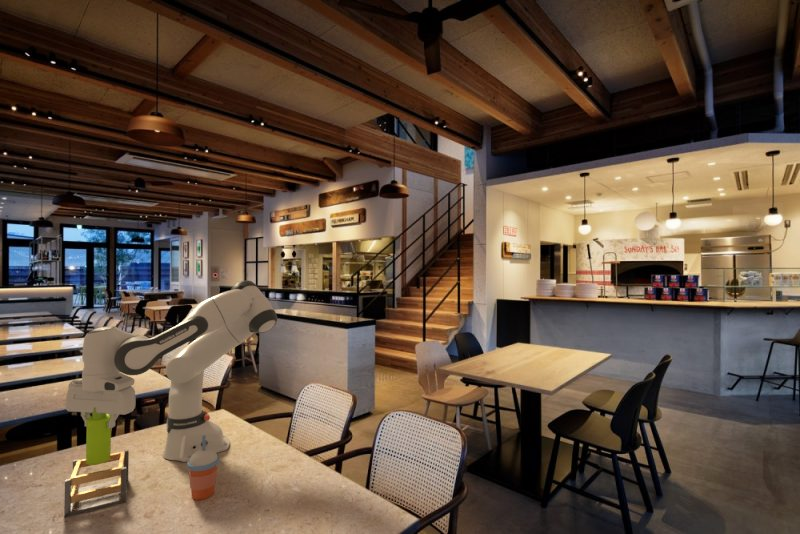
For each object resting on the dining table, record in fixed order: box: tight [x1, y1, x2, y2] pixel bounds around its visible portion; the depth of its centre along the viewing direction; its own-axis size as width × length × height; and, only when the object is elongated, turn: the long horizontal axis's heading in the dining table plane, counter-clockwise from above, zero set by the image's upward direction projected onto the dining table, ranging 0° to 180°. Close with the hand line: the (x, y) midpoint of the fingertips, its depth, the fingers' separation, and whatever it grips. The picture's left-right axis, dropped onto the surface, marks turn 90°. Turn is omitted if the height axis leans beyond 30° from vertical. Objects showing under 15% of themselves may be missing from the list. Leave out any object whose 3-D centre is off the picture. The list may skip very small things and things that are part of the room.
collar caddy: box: [63, 449, 130, 518], centre depth 119 cm, size 14×14×10 cm
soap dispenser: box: [85, 408, 112, 466], centre depth 119 cm, size 6×7×20 cm
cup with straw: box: [186, 435, 221, 501], centre depth 122 cm, size 9×9×18 cm
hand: (99, 426), depth 119 cm, fingers closed on soap dispenser, 6 cm apart
